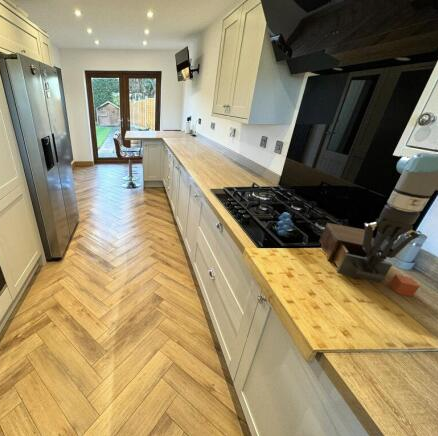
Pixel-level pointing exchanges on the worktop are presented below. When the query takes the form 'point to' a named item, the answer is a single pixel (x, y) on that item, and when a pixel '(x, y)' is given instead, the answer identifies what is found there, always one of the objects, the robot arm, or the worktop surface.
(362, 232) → the cabinet
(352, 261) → the drawer
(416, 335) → the worktop surface
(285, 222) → the grapes
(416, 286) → the block
